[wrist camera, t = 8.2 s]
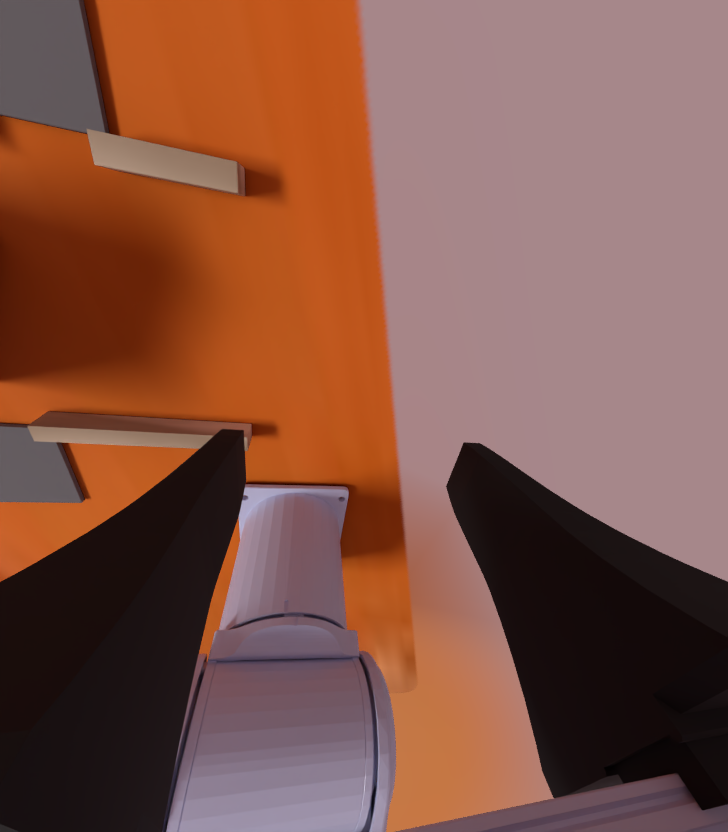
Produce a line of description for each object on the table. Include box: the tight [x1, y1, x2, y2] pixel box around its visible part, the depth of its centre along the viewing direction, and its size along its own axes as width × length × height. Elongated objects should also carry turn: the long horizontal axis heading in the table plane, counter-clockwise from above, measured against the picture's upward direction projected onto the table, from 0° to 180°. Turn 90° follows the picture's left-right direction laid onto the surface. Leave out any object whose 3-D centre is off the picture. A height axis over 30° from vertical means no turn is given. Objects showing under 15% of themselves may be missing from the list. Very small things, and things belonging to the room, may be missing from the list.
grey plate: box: [0, 0, 109, 503], centre depth 14 cm, size 28×7×1 cm, turn 154°
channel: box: [27, 129, 252, 451], centre depth 13 cm, size 14×19×3 cm
